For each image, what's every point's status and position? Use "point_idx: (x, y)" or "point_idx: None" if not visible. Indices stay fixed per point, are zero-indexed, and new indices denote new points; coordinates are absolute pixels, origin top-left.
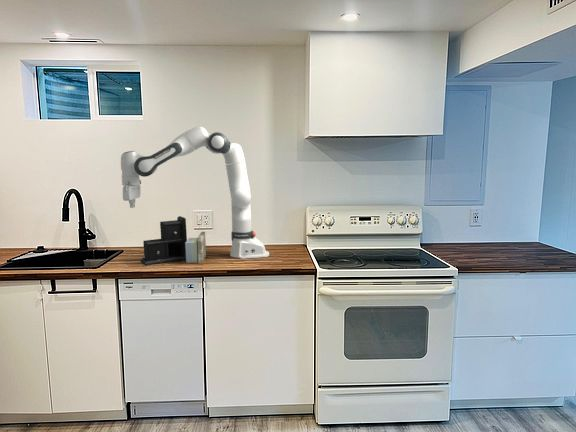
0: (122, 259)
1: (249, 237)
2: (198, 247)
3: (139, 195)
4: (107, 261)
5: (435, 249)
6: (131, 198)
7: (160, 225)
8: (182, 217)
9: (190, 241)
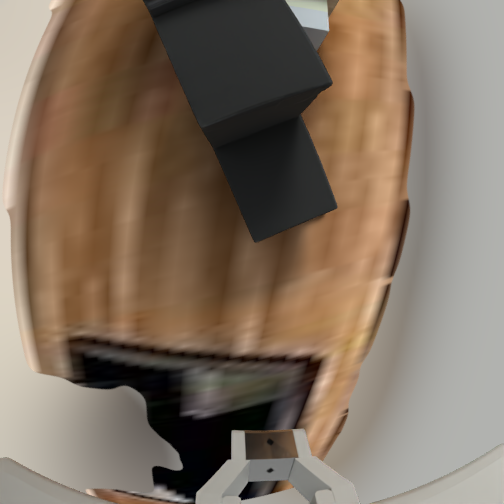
0: (204, 317)
1: None
2: (336, 2)
3: (9, 484)
4: (229, 357)
5: None
6: (486, 469)
7: (213, 130)
8: None
9: (297, 11)
